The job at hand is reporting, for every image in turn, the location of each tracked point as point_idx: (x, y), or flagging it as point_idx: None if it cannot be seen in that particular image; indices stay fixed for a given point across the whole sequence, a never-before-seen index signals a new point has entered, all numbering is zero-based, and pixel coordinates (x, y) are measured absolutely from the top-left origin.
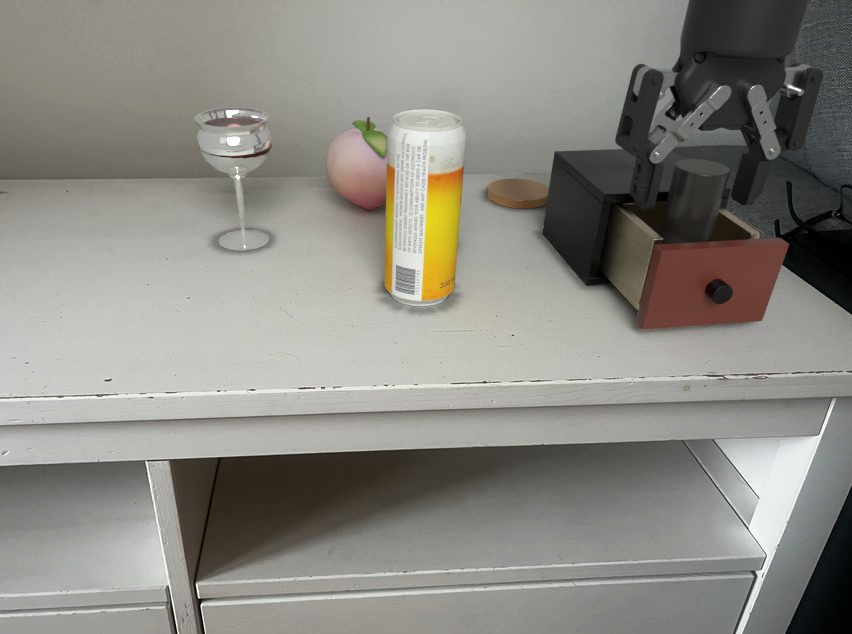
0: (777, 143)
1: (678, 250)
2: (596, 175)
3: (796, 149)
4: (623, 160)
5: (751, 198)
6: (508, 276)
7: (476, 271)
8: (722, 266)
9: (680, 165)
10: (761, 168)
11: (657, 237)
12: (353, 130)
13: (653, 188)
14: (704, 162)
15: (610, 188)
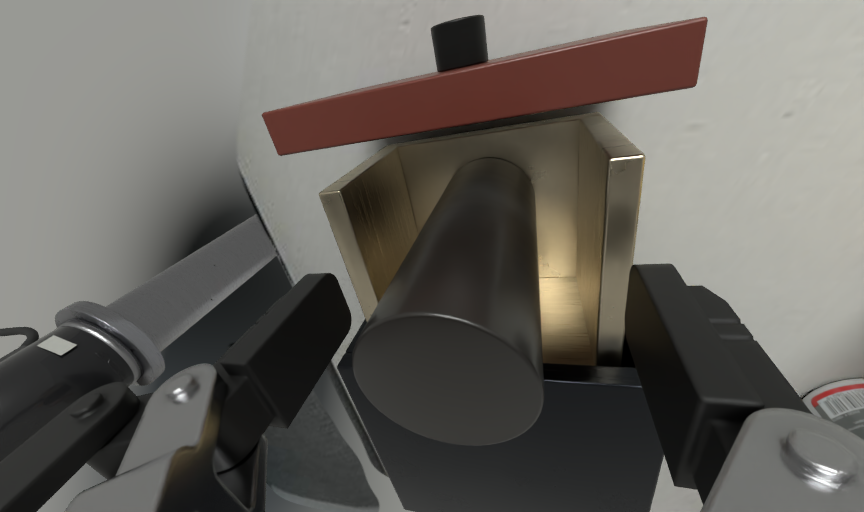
0: (146, 418)
1: (627, 36)
2: (619, 469)
3: (109, 385)
4: (509, 498)
5: (310, 280)
6: (759, 288)
7: (820, 310)
8: (447, 71)
9: (523, 412)
10: (249, 343)
11: (625, 168)
12: None
13: (686, 310)
14: (419, 414)
15: (633, 414)
